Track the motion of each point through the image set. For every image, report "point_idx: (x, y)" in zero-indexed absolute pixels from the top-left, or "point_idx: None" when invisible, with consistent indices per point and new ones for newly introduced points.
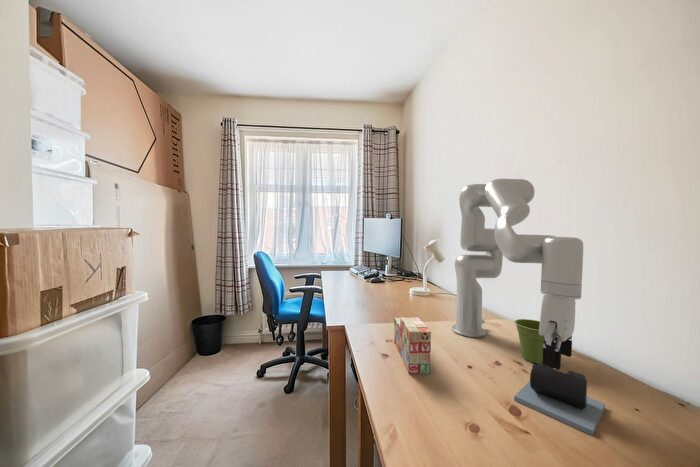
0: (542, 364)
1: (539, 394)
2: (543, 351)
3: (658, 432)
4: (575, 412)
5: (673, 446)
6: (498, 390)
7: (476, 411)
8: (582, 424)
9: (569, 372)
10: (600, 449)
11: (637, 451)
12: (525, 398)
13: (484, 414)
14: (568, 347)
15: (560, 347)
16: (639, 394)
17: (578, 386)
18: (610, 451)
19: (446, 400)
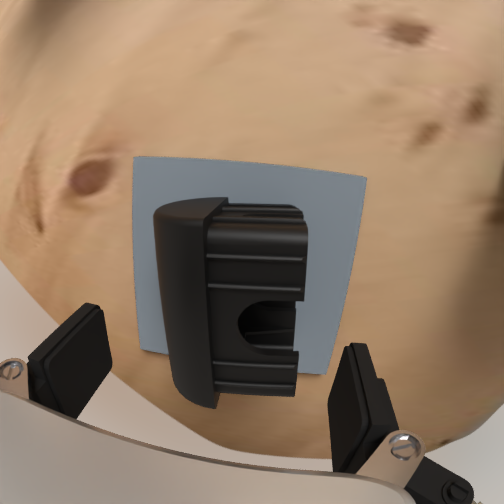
0: (275, 252)
1: None
2: (46, 342)
3: (285, 430)
4: None
5: (248, 439)
6: (163, 95)
7: (24, 116)
8: (146, 332)
9: (274, 359)
10: (111, 348)
11: (168, 397)
12: (147, 189)
13: (26, 134)
14: (334, 436)
15: (344, 395)
16: (455, 402)
17: (176, 377)
18: (122, 362)
19: (20, 49)
